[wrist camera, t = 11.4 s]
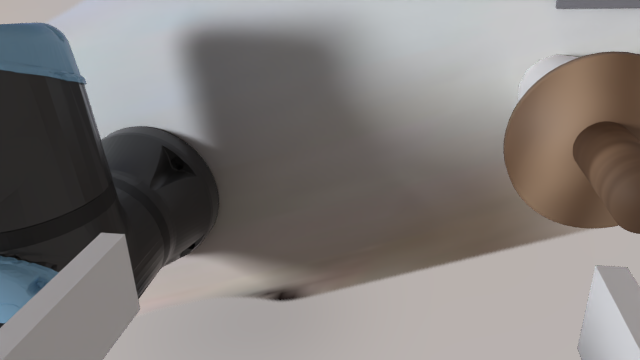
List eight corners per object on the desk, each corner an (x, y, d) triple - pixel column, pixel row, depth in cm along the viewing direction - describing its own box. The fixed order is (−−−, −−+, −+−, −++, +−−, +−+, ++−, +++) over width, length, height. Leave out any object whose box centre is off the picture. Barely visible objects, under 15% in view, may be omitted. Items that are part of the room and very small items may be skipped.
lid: (496, 218, 39) (515, 292, 31) (512, 53, 34) (539, 90, 26) (677, 224, 37) (747, 305, 29) (721, 49, 32) (820, 89, 24)
